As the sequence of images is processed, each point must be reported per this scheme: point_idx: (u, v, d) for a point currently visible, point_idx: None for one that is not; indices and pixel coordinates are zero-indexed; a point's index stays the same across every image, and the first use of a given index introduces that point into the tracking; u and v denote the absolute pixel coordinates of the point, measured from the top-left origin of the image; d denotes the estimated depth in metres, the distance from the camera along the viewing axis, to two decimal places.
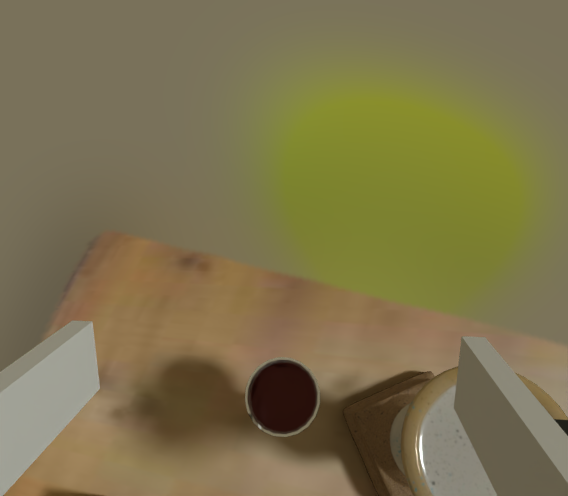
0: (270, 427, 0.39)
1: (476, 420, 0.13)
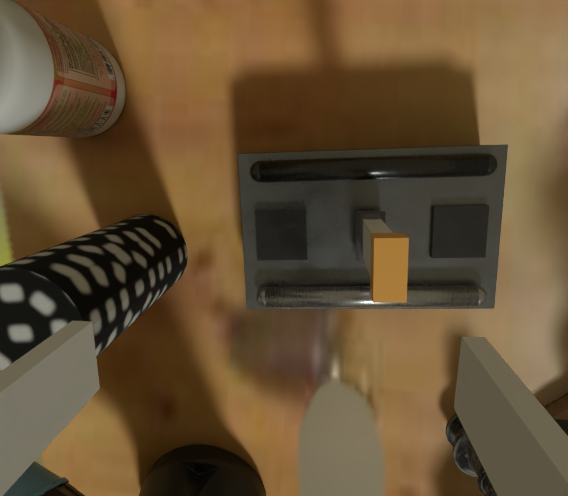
0: None
1: (476, 420, 0.13)
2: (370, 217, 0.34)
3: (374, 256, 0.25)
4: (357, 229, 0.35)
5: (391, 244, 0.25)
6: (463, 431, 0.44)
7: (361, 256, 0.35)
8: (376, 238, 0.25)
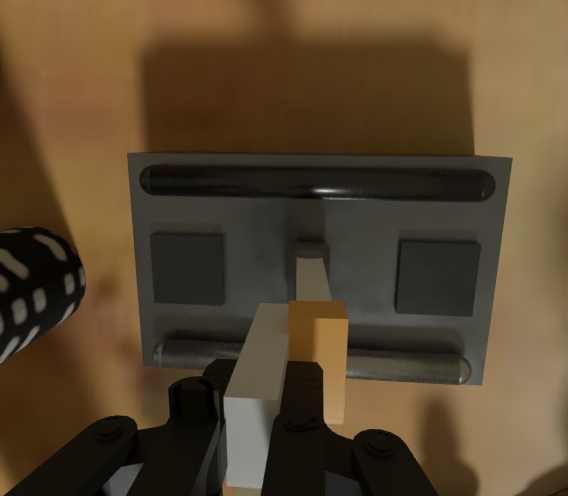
0: None
1: None
2: (307, 255, 0.23)
3: (289, 347, 0.14)
4: (289, 270, 0.24)
5: (318, 329, 0.14)
6: None
7: None
8: (292, 317, 0.14)
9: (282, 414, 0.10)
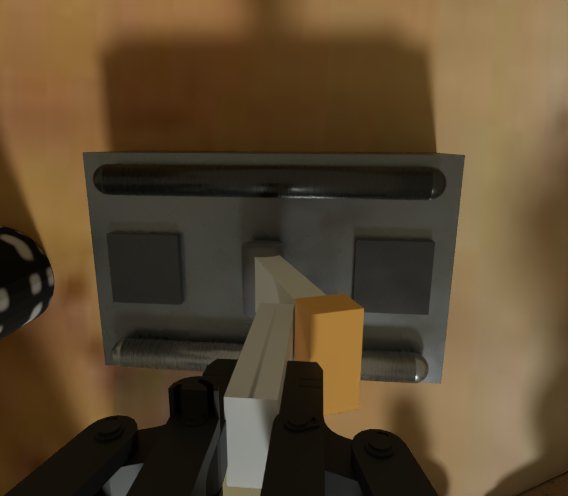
0: None
1: None
2: (265, 254, 0.23)
3: (310, 344, 0.14)
4: (245, 271, 0.23)
5: (337, 321, 0.15)
6: None
7: (253, 310, 0.24)
8: (313, 314, 0.14)
9: (282, 414, 0.10)
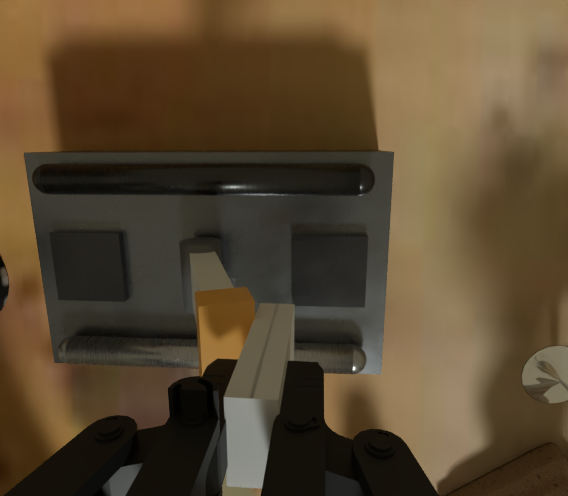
0: None
1: None
2: (200, 250, 0.23)
3: (201, 335, 0.15)
4: (182, 267, 0.24)
5: (227, 313, 0.15)
6: None
7: (190, 305, 0.24)
8: (202, 305, 0.15)
9: (283, 414, 0.10)
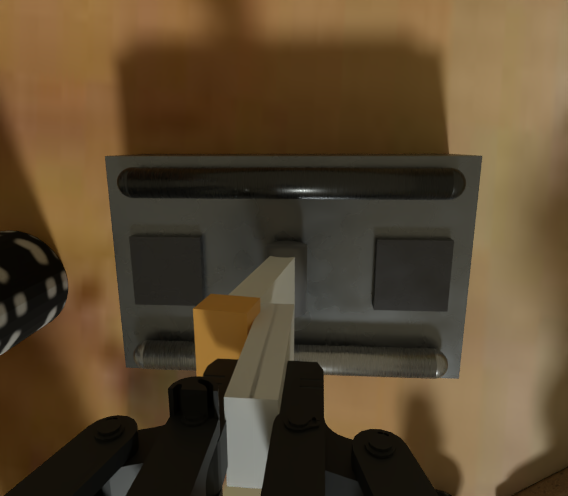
0: None
1: None
2: (278, 254, 0.23)
3: (196, 337, 0.15)
4: None
5: (220, 321, 0.15)
6: None
7: None
8: (198, 308, 0.15)
9: (282, 414, 0.10)
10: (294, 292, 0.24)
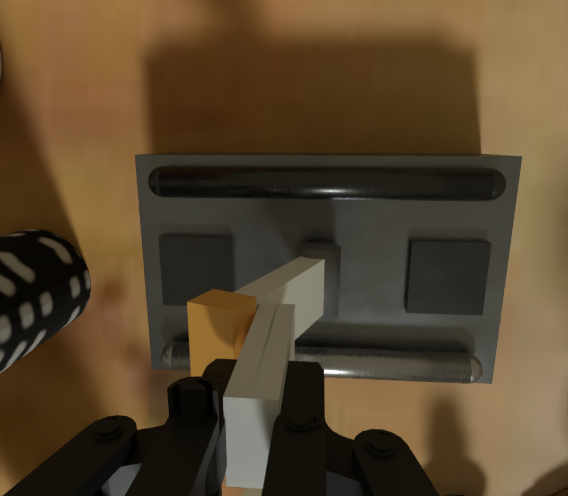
0: None
1: None
2: (308, 255, 0.23)
3: (190, 329, 0.16)
4: None
5: (209, 316, 0.15)
6: None
7: None
8: (191, 302, 0.16)
9: (283, 414, 0.10)
10: (323, 295, 0.23)
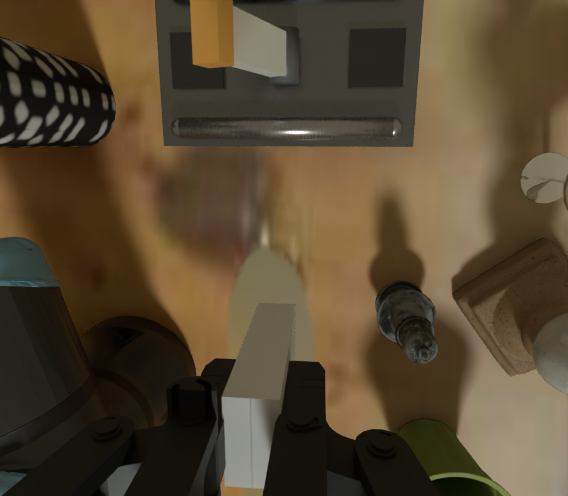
0: None
1: None
2: None
3: (191, 13, 0.26)
4: None
5: None
6: None
7: None
8: None
9: (284, 414, 0.10)
10: (286, 61, 0.33)
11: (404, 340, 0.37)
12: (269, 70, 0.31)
